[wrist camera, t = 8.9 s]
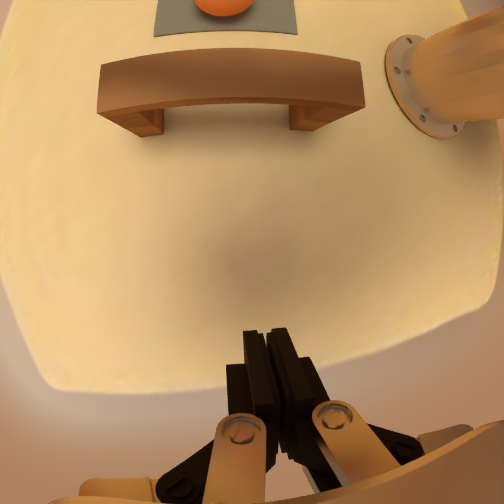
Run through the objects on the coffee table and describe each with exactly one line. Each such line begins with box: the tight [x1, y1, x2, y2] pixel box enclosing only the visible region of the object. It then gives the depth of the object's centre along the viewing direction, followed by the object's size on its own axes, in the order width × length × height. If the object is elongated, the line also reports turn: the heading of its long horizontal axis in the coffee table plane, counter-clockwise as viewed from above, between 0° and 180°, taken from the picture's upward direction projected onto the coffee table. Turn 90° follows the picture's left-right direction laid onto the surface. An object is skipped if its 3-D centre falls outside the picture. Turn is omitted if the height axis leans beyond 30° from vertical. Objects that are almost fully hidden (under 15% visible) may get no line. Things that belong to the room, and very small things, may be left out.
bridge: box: [97, 48, 365, 137], centre depth 16 cm, size 3×14×9 cm, turn 92°
